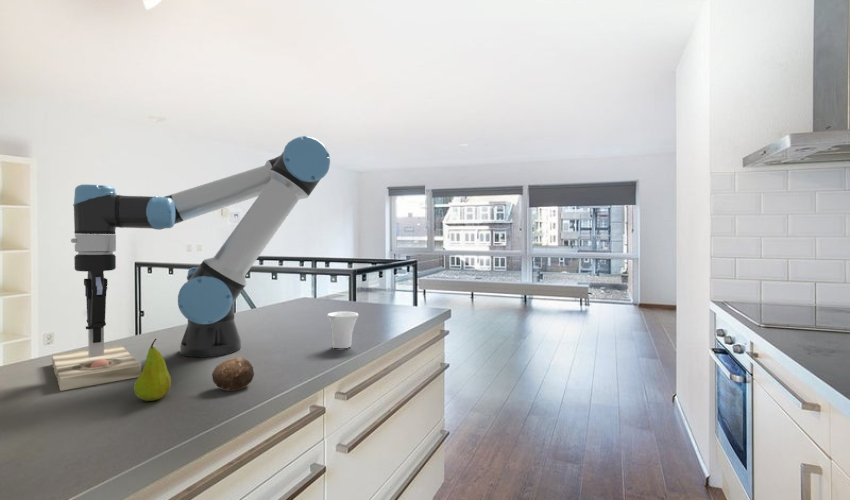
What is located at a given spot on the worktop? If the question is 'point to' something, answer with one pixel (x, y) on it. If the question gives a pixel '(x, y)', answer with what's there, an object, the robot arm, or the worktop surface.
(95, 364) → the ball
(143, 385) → the fruit
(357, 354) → the worktop surface
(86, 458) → the worktop surface
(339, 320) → the cup
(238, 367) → the brown potato
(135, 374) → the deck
